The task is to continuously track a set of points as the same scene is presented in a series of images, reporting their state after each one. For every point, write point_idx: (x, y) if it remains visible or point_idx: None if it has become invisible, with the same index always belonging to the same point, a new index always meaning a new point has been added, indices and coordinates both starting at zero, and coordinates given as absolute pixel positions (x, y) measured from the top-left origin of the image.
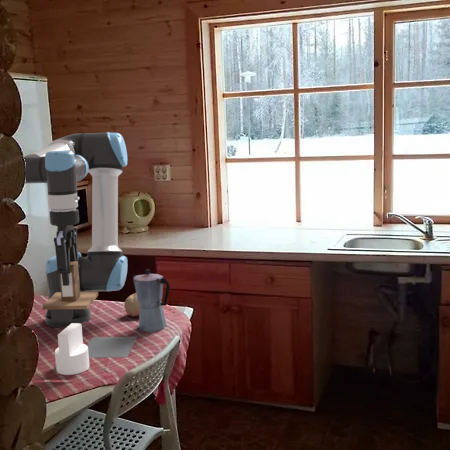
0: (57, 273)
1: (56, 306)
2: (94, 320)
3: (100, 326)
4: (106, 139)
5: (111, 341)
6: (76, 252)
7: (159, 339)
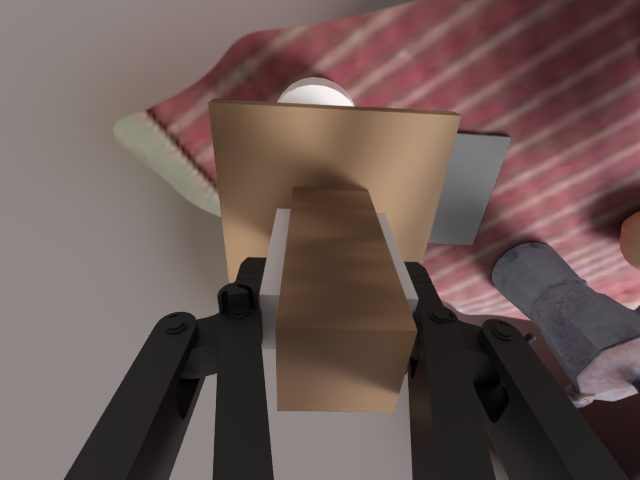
0: (227, 285)
1: (218, 178)
2: None
3: (602, 139)
4: None
5: (461, 192)
6: (501, 458)
7: (450, 284)
